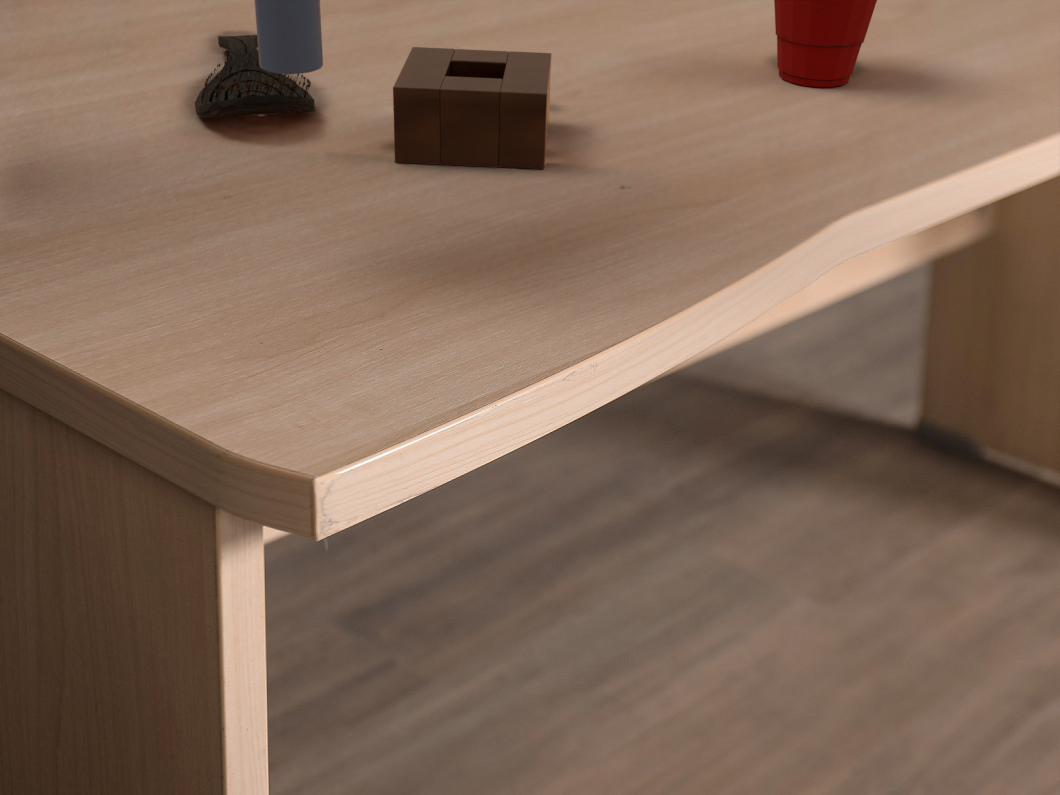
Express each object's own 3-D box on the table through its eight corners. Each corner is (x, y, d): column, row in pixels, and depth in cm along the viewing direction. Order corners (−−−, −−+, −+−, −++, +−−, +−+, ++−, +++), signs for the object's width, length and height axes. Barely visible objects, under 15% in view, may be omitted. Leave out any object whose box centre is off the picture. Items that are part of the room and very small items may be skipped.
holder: (394, 162, 80) (392, 87, 78) (413, 116, 89) (412, 46, 86) (544, 169, 80) (547, 94, 78) (548, 122, 89) (551, 52, 86)
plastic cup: (722, 63, 104) (739, -88, 98) (835, 56, 107) (858, -90, 101) (784, 102, 95) (806, -62, 89) (905, 93, 98) (935, -66, 92)
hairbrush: (284, 9, 103) (321, 79, 82) (287, 54, 105) (325, 133, 84) (182, 13, 101) (193, 86, 80) (187, 59, 103) (200, 141, 82)
